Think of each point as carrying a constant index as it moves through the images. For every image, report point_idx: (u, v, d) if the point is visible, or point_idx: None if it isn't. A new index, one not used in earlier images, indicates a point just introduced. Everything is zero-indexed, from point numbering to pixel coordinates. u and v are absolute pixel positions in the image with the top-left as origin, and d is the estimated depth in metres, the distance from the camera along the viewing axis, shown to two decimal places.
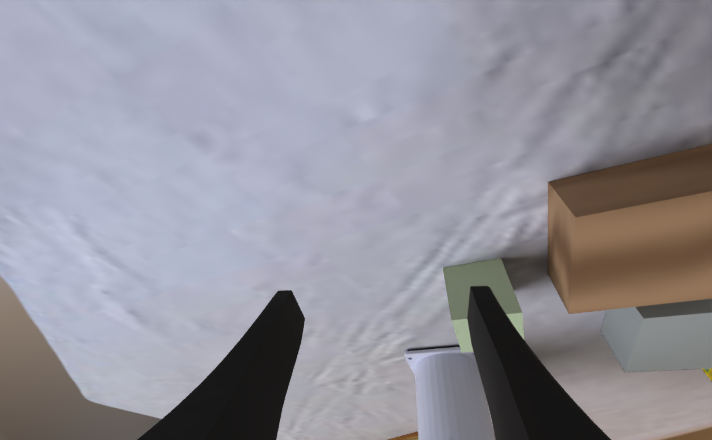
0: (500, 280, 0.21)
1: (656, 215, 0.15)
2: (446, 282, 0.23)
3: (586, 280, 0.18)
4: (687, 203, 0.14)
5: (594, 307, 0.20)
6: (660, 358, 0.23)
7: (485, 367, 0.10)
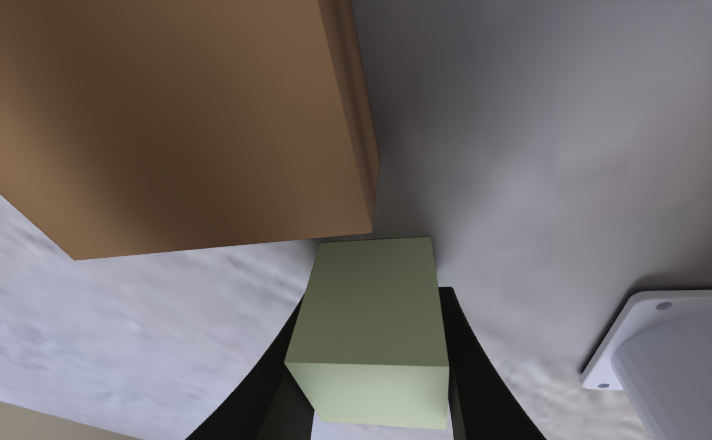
0: None
1: None
2: None
3: (221, 219, 0.07)
4: None
5: (337, 178, 0.06)
6: None
7: None
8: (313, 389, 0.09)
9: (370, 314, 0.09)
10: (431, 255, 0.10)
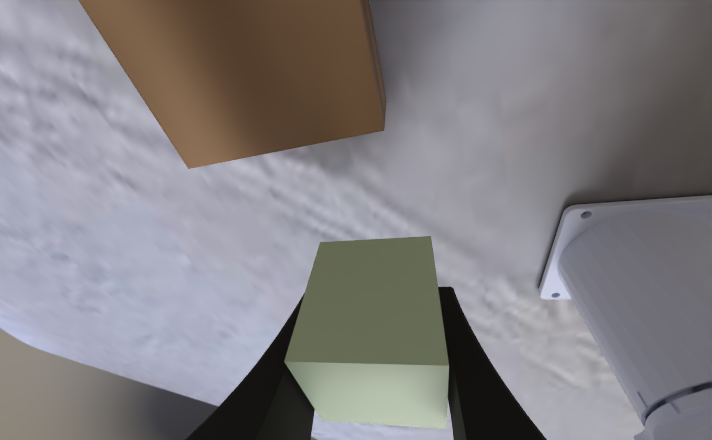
0: None
1: (152, 78, 0.11)
2: None
3: (291, 127, 0.11)
4: (122, 46, 0.10)
5: (363, 92, 0.10)
6: None
7: None
8: (313, 388, 0.09)
9: (370, 314, 0.09)
10: (431, 255, 0.10)
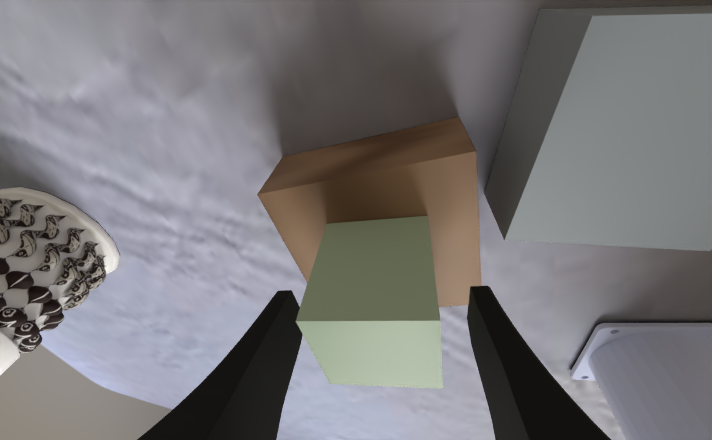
0: None
1: None
2: None
3: None
4: (304, 259, 0.15)
5: None
6: (685, 209, 0.11)
7: (485, 367, 0.10)
8: (321, 349, 0.10)
9: (371, 281, 0.10)
10: (427, 231, 0.12)
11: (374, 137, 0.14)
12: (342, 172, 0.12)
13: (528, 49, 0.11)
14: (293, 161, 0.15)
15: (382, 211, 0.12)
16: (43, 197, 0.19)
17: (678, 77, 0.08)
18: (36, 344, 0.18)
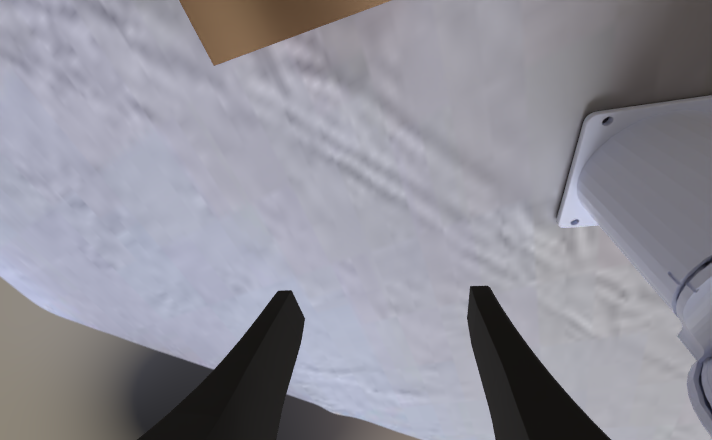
0: None
1: None
2: None
3: (316, 0, 0.11)
4: None
5: None
6: None
7: (485, 367, 0.10)
8: None
9: None
10: None
11: None
12: None
13: None
14: None
15: None
16: None
17: None
18: None
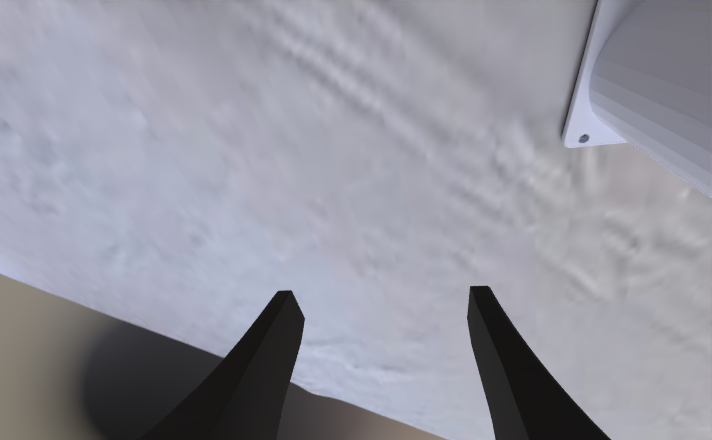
0: None
1: None
2: None
3: None
4: None
5: None
6: None
7: (485, 367, 0.10)
8: None
9: None
10: None
11: None
12: None
13: None
14: None
15: None
16: None
17: None
18: None
